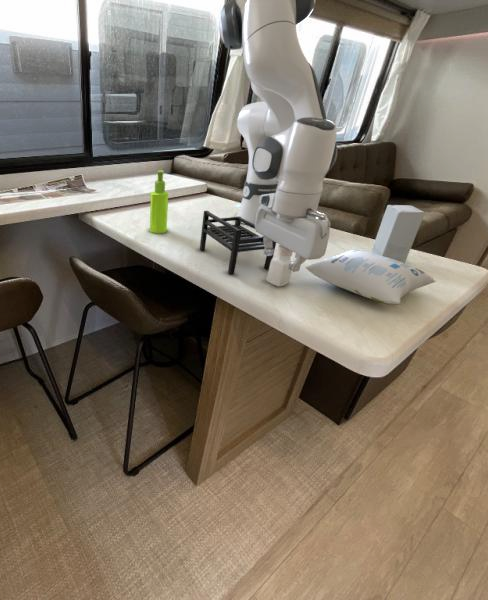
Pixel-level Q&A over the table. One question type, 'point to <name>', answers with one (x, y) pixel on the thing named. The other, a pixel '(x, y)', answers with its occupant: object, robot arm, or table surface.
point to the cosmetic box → (397, 232)
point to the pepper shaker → (280, 267)
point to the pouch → (371, 275)
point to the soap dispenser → (159, 206)
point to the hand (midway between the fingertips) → (280, 262)
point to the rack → (233, 237)
